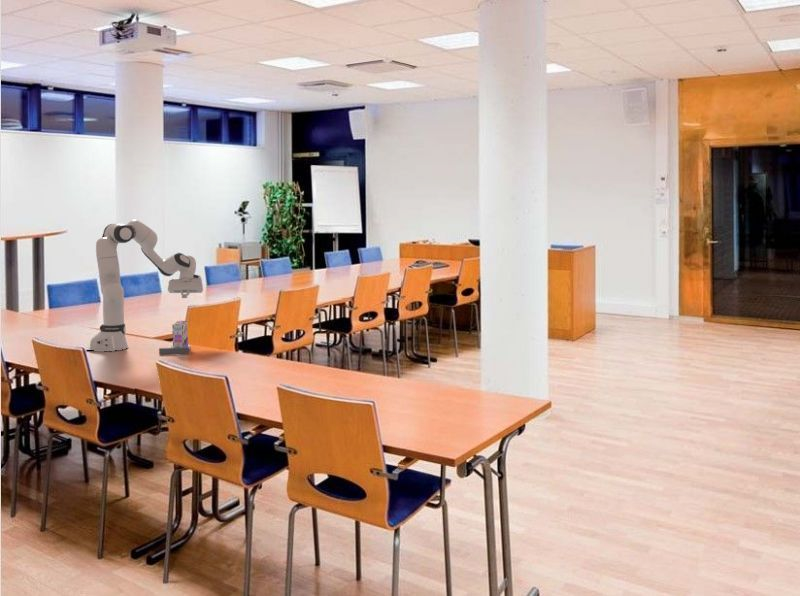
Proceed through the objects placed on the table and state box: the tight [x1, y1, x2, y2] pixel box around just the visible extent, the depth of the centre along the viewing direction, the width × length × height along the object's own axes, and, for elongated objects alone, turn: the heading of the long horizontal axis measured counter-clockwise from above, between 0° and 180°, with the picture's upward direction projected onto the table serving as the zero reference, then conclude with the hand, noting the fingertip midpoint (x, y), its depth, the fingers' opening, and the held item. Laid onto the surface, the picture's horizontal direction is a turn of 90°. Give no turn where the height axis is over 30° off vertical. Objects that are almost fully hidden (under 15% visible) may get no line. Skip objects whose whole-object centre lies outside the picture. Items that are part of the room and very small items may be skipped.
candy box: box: [172, 320, 189, 348], centre depth 417 cm, size 14×6×16 cm, turn 5°
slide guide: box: [158, 344, 192, 355], centre depth 417 cm, size 16×19×4 cm
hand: (184, 297), depth 438 cm, fingers closed
